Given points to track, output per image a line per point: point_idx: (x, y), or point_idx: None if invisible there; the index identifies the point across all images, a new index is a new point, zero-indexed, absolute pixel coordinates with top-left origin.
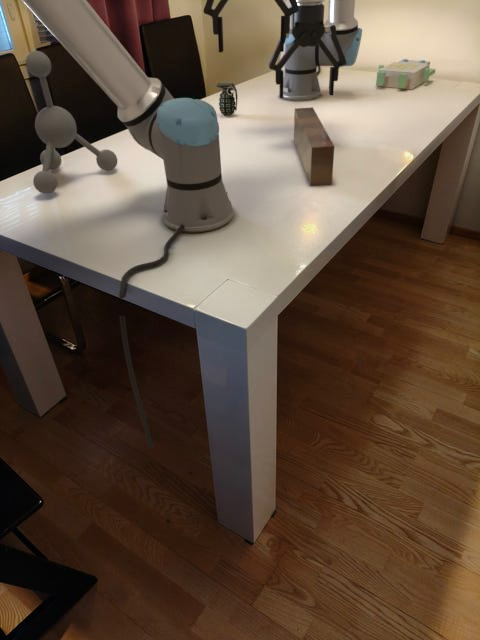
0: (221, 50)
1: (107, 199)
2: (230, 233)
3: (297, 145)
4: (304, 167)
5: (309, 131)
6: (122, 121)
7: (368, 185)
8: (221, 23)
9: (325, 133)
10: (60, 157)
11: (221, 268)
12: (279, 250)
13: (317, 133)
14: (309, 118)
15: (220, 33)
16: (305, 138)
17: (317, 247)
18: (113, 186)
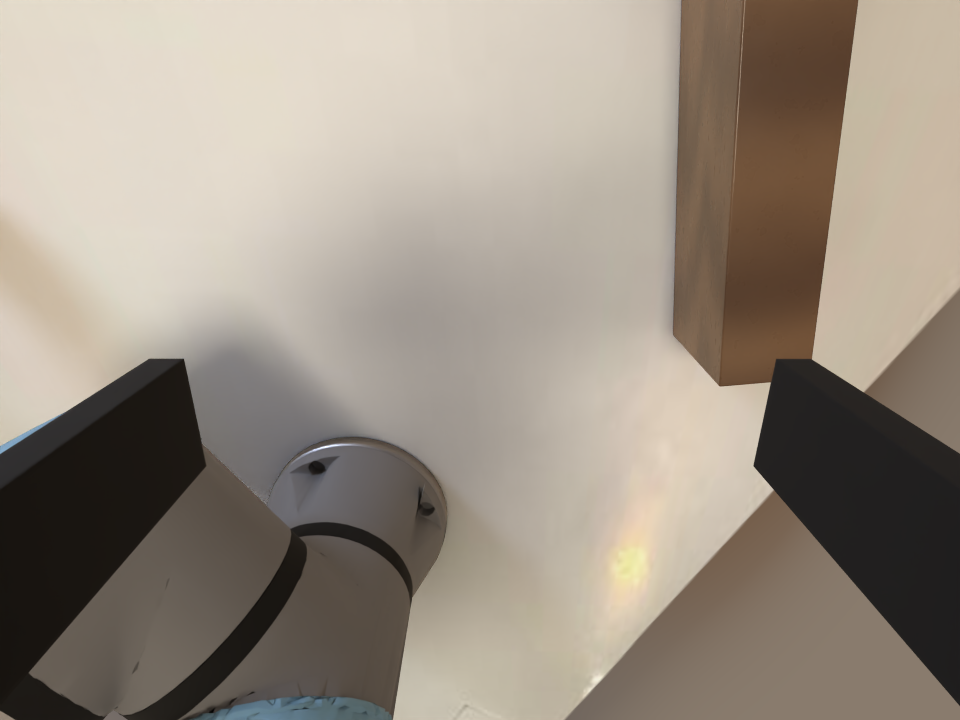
0: (192, 474)
1: (63, 404)
2: (451, 578)
3: None
4: (679, 191)
5: (754, 177)
6: None
7: (857, 341)
8: (11, 636)
9: (822, 214)
10: None
11: (450, 680)
12: (557, 636)
13: (785, 211)
14: None
15: (95, 582)
16: (721, 204)
17: (634, 629)
18: (22, 312)
